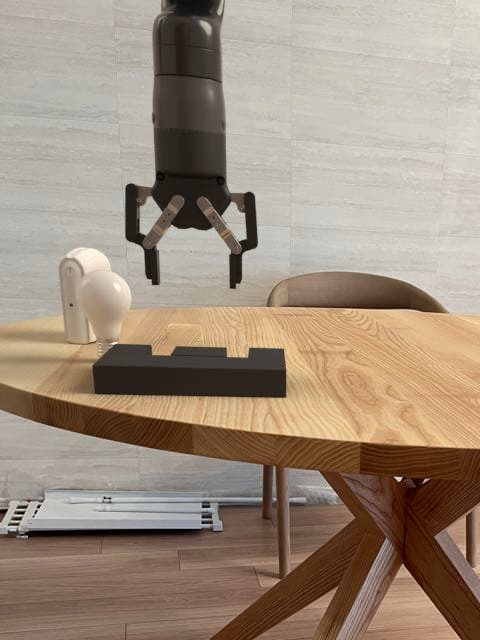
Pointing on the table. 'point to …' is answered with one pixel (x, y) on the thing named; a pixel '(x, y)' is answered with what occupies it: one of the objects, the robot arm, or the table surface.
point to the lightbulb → (104, 305)
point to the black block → (199, 351)
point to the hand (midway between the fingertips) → (194, 286)
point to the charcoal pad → (190, 373)
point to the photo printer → (69, 276)
